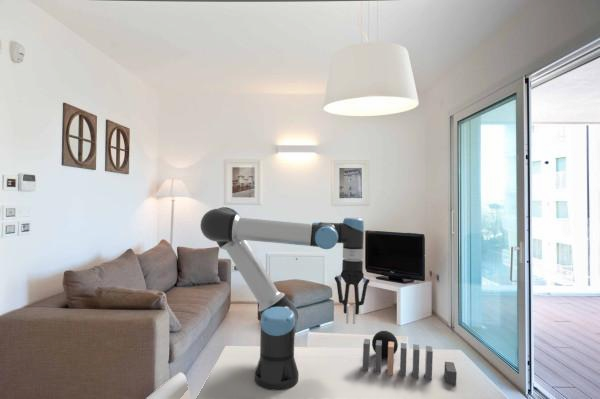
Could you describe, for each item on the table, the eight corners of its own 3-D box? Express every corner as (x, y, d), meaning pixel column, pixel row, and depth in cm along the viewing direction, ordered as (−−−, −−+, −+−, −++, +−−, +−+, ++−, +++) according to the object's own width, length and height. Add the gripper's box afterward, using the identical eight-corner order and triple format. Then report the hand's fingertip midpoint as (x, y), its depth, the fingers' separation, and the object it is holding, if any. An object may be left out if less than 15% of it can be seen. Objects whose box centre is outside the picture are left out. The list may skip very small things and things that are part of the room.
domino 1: (362, 370, 144) (363, 343, 144) (363, 365, 149) (364, 338, 149) (368, 371, 143) (368, 344, 143) (369, 365, 148) (370, 339, 148)
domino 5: (412, 377, 140) (413, 349, 139) (412, 371, 144) (413, 344, 144) (418, 378, 139) (419, 350, 139) (418, 372, 144) (418, 344, 144)
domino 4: (400, 375, 141) (400, 348, 140) (400, 369, 146) (400, 342, 145) (405, 376, 140) (406, 348, 140) (405, 370, 145) (406, 343, 145)
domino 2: (374, 372, 143) (375, 345, 143) (375, 366, 148) (376, 340, 147) (380, 373, 142) (381, 345, 142) (381, 367, 147) (382, 340, 147)
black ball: (400, 354, 159) (401, 330, 159) (393, 364, 150) (393, 338, 150) (376, 349, 164) (377, 325, 164) (368, 357, 155) (368, 332, 155)
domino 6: (425, 379, 138) (426, 351, 138) (425, 373, 143) (425, 345, 143) (431, 380, 138) (432, 351, 138) (430, 373, 143) (431, 346, 143)
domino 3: (387, 374, 142) (388, 346, 142) (387, 368, 147) (388, 341, 146) (393, 374, 141) (393, 347, 141) (393, 368, 146) (394, 342, 146)
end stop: (446, 384, 135) (447, 371, 135) (444, 373, 143) (444, 361, 143) (456, 385, 135) (456, 372, 135) (453, 374, 142) (453, 362, 142)
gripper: (331, 259, 145) (329, 323, 145) (372, 262, 141) (370, 327, 142) (334, 256, 152) (333, 317, 153) (373, 259, 148) (371, 321, 149)
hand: (351, 322), depth 147 cm, fingers open, 2 cm apart
